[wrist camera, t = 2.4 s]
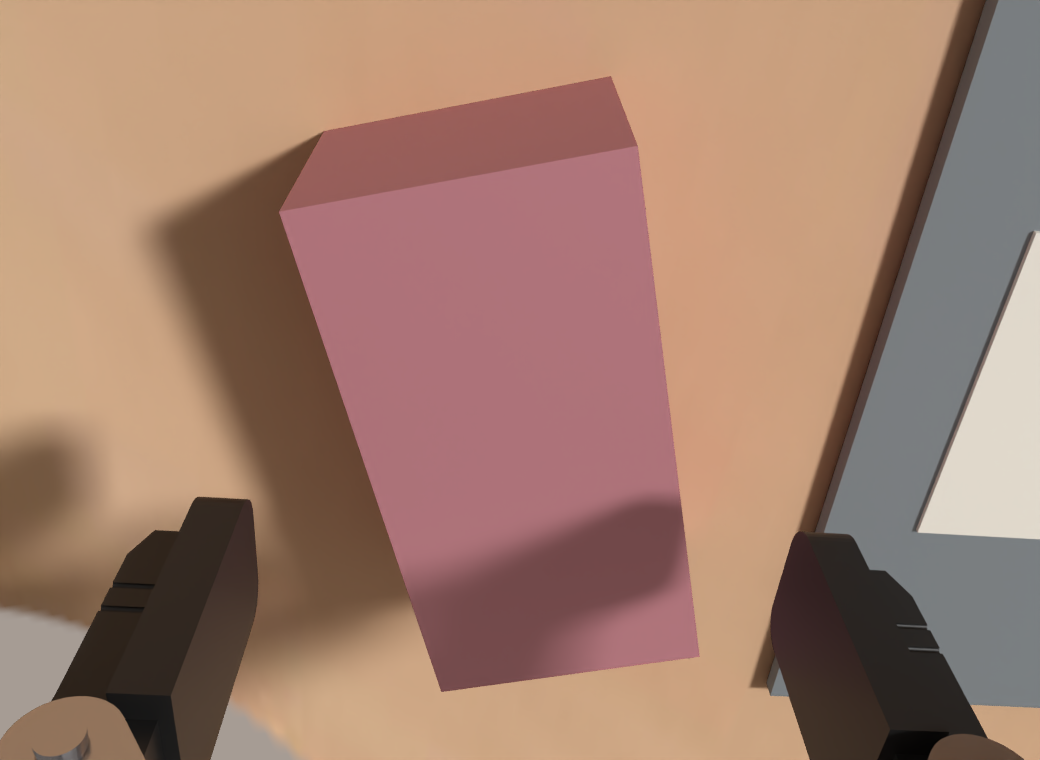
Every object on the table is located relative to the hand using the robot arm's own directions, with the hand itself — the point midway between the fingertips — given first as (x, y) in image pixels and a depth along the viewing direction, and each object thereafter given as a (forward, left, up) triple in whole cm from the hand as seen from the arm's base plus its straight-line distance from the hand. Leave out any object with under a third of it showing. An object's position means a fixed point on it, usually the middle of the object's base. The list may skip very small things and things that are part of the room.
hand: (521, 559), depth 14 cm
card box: (0, 0, -6) cm, 6 cm away
